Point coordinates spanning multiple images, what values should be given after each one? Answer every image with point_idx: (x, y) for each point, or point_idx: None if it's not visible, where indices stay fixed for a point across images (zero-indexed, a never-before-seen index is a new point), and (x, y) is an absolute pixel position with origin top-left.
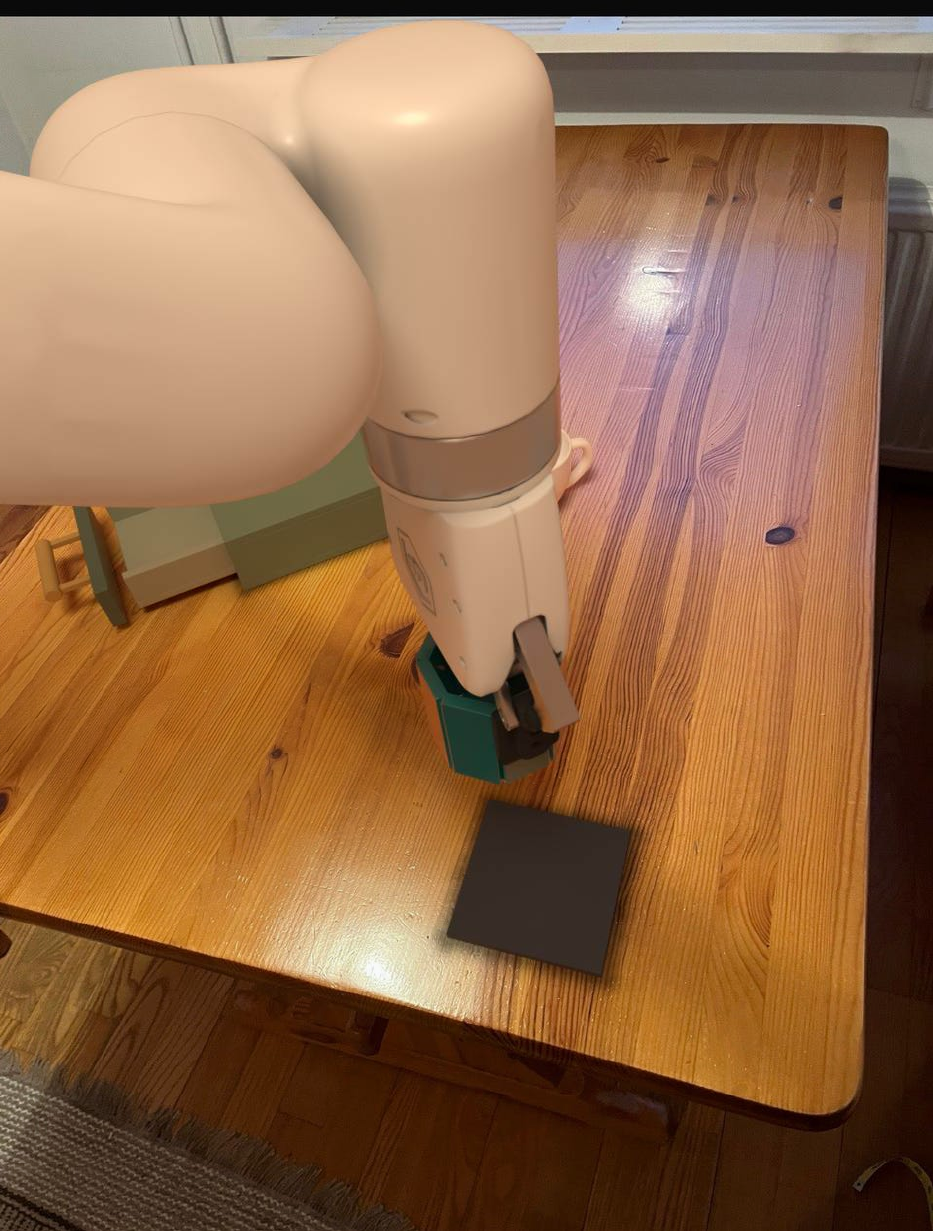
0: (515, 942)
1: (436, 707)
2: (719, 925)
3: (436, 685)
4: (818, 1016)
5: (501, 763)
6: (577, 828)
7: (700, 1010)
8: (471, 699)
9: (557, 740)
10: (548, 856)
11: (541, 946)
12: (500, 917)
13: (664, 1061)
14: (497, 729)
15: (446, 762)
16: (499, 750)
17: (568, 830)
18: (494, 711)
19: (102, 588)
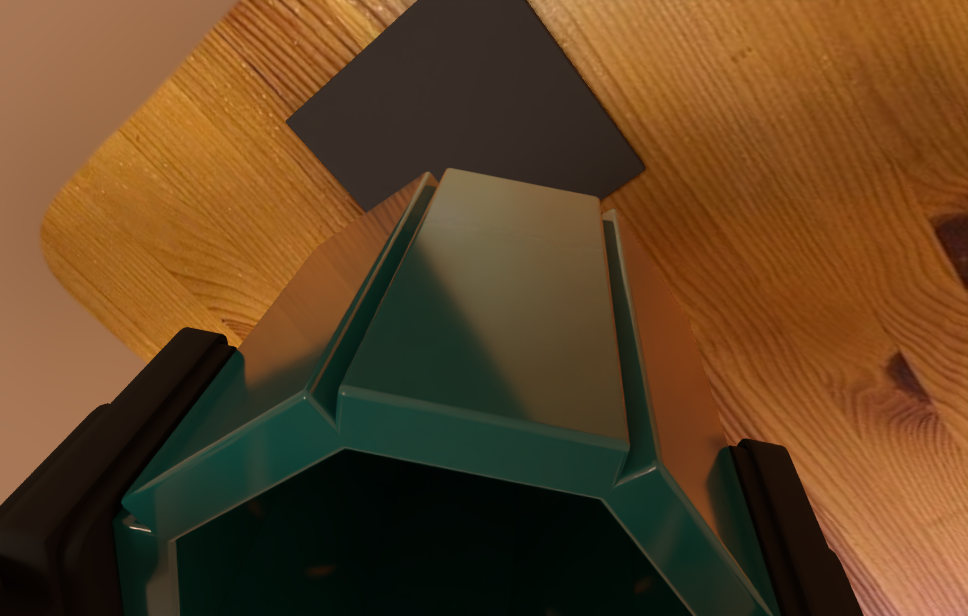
0: (398, 40)
1: (370, 343)
2: (274, 296)
3: (417, 438)
4: (124, 303)
5: (179, 331)
6: None
7: (189, 198)
8: (246, 497)
9: None
10: None
11: (369, 73)
12: (449, 46)
13: (150, 112)
14: (41, 481)
15: (468, 173)
16: (133, 379)
17: None
18: (81, 544)
19: None
